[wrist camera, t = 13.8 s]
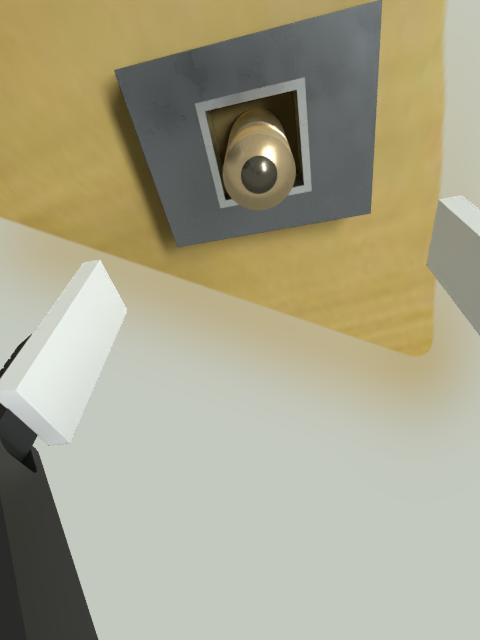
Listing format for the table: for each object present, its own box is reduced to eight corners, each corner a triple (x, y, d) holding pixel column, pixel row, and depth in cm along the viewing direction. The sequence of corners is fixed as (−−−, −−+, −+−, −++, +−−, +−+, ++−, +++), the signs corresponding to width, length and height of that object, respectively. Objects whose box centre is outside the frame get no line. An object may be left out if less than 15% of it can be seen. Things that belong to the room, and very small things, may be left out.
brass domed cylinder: (223, 116, 28) (214, 143, 21) (281, 102, 27) (292, 126, 20) (235, 175, 31) (231, 216, 24) (287, 164, 30) (299, 204, 23)
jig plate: (126, 66, 26) (113, 70, 23) (369, 2, 23) (382, -1, 21) (182, 233, 35) (177, 247, 32) (362, 200, 32) (370, 213, 30)
